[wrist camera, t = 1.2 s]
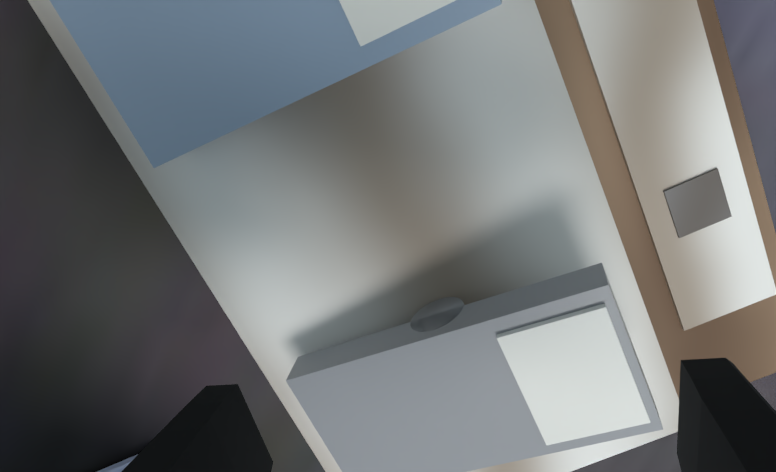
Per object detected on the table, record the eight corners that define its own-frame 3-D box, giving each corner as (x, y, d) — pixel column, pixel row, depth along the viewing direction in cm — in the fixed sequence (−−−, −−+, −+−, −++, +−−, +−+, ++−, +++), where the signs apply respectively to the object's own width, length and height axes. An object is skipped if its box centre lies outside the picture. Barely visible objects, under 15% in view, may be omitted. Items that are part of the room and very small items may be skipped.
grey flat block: (369, 449, 18) (355, 499, 16) (305, 341, 17) (283, 384, 15) (648, 382, 16) (664, 434, 14) (597, 248, 14) (609, 288, 13)
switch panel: (372, 504, 23) (371, 599, 20) (-35, -159, 16) (-164, -212, 12) (790, 344, 21) (878, 416, 18) (553, -514, 14) (620, -714, 10)
